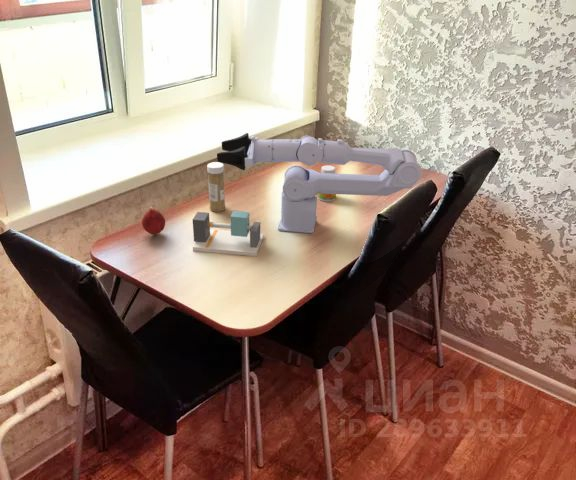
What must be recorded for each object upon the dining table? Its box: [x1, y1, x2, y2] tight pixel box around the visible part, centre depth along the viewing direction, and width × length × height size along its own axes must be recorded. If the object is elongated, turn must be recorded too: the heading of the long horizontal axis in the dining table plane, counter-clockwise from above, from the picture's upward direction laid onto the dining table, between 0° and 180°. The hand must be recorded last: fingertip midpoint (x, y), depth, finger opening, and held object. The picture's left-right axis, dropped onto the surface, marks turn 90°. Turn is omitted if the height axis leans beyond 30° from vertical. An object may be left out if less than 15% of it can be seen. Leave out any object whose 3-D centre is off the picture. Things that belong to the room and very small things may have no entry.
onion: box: [141, 206, 166, 236], centre depth 148 cm, size 6×6×8 cm
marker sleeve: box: [230, 210, 250, 237], centre depth 143 cm, size 4×3×5 cm
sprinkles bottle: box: [206, 161, 226, 213], centre depth 161 cm, size 5×5×14 cm
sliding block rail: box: [192, 211, 265, 257], centre depth 145 cm, size 16×10×7 cm, turn 81°
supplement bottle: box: [317, 164, 337, 203], centre depth 169 cm, size 5×5×10 cm
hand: (219, 151), depth 147 cm, fingers open, 7 cm apart
